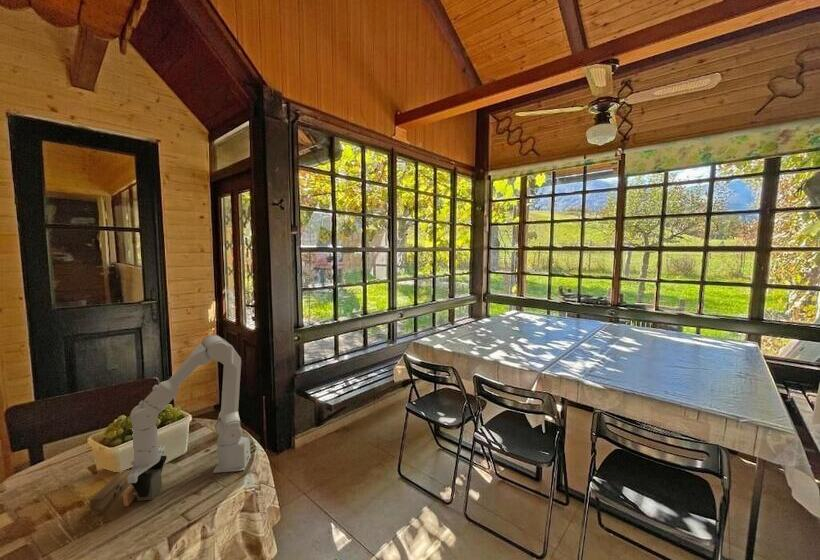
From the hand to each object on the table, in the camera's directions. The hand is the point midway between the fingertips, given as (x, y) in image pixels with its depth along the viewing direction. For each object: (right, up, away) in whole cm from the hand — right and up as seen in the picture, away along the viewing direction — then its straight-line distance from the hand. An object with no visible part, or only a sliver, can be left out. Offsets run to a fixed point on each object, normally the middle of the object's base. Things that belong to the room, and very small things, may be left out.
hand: (149, 489), depth 102 cm
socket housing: (-10, -2, -1) cm, 10 cm away
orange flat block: (-4, -2, 0) cm, 4 cm away
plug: (0, -1, 0) cm, 1 cm away
